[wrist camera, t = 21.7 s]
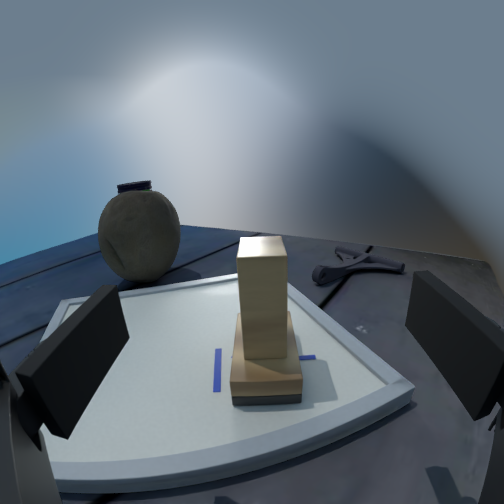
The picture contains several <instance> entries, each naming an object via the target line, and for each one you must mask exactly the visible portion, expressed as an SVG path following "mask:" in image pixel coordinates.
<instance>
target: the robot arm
mask: <svg viewBox="0 0 504 504" xmlns="http://www.w3.org/2000/svg"><path fill="white" fill-rule="evenodd" d="M405 326H406V327H407V329H408V330H409V331H410V332H411V334H412V335H413V336H414V338H415V339H416V340H417V341H418V343H419V344H420V345H421V347H422V348H423V349H424V351H425V352H426V353H427V355H428V356H429V357H430V359H431V360H432V361H433V363H434V364H435V366H436V367H437V368H438V370H439V371H440V372H441V374H442V375H443V377H444V378H445V379H446V381H447V382H448V384H449V385H450V386H451V388H452V389H453V391H454V392H455V394H456V395H457V396H458V398H459V399H460V401H461V402H462V404H463V405H464V407H465V408H466V410H467V411H468V413H469V414H470V416H471V417H472V419H473V420H474V421H476V420H478V419H481V418H483V417H485V416H487V415H489V414H490V413H491V411H492V409H493V407H494V406H495V404H496V402H498V403H499V405H500V406H501V408H500V410H499V411H498V413H497V415H496V416H495V418H494V420H493V421H492V423H491V425H490V426H489V429H488V430H489V431H491V429H492V428H493V426H494V425H495V424H496V427H495V430H494V432H495V434H494V440H493V446H492V451H491V456H490V461H489V465H488V470H487V474H486V478H485V482H484V485H483V489H482V492H481V496H480V499H479V502H478V504H504V329H503V328H502V329H501V327H500V326H499V325H498V324H497V323H496V322H495V321H493V320H492V319H490V318H488V317H486V316H484V315H483V314H482V313H481V312H479V311H478V310H477V309H476V308H475V307H473V306H472V305H471V304H470V303H469V302H467V301H466V300H465V299H464V298H462V297H461V296H460V295H459V294H458V293H456V292H455V291H454V290H452V289H451V288H450V287H449V286H447V285H446V284H445V283H444V282H442V281H441V280H440V279H438V278H437V277H436V276H434V275H433V274H432V273H430V272H429V271H428V270H426V271H414V274H413V281H412V288H411V295H410V301H409V306H408V312H407V317H406V322H405ZM129 338H130V336H129V333H128V329H127V325H126V322H125V318H124V314H123V310H122V306H121V302H120V297H119V293H118V289H117V285H102V286H101V287H100V288H99V289H98V290H97V291H96V292H95V293H93V294H92V295H91V296H90V297H89V298H88V299H87V300H86V301H85V302H84V303H83V304H82V305H81V306H80V307H78V308H77V309H76V310H75V311H74V312H73V313H72V314H71V315H70V316H69V317H68V318H67V319H66V320H65V321H64V322H63V323H62V324H61V325H60V326H59V327H58V328H57V329H56V330H55V331H54V332H53V333H52V334H51V335H50V336H49V337H48V338H46V339H45V340H43V341H41V342H40V343H39V344H38V345H37V346H36V347H35V348H34V349H33V351H31V352H30V353H29V354H28V357H25V358H24V359H23V361H22V362H21V363H20V364H19V365H18V366H17V367H16V368H15V369H14V370H13V371H12V372H11V373H10V374H9V376H8V375H7V373H6V371H5V369H4V367H3V365H2V363H1V361H0V504H63V503H62V500H61V497H60V494H59V491H58V488H57V485H56V482H55V479H54V475H53V472H52V468H51V464H50V460H49V456H48V452H47V448H46V444H45V439H44V435H43V433H42V432H41V430H40V428H41V426H42V425H43V423H44V424H45V426H46V427H47V429H48V430H49V432H50V433H51V434H52V435H55V436H58V437H61V438H64V439H67V440H68V439H69V437H70V435H71V434H72V432H73V430H74V428H75V427H76V425H77V423H78V421H79V420H80V418H81V416H82V414H83V413H84V411H85V409H86V408H87V406H88V404H89V403H90V401H91V399H92V398H93V396H94V394H95V393H96V391H97V389H98V388H99V386H100V384H101V383H102V381H103V379H104V378H105V376H106V375H107V373H108V371H109V370H110V368H111V367H112V365H113V363H114V362H115V360H116V359H117V357H118V356H119V354H120V352H121V351H122V349H123V348H124V346H125V345H126V343H127V342H128V340H129Z"/></svg>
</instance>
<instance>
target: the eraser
mask: <svg viewBox="0 0 504 504" xmlns="http://www.w3.org/2000/svg"><path fill="white" fill-rule="evenodd" d="M236 259H237V274H238V288H239V302H240V313H238V314H237V323H236V331H235V339H234V348H233V356H232V364H231V373H230V381H229V383H230V390H231V398H232V405H233V406H252V405H279V404H295V403H301V402H302V389H303V376H302V370H301V365H300V360H299V355H298V350H297V344H296V339H295V334H294V329H293V324H292V319H291V314H290V311H288V278H287V254H286V250H285V247H284V244H283V241H282V238H281V236H268V237H245V238H241V239H240V243H239V248H238V253H237V258H236Z"/></svg>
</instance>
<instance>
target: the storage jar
mask: <svg viewBox="0 0 504 504" xmlns="http://www.w3.org/2000/svg"><path fill="white" fill-rule="evenodd" d="M117 188H118V193H120V194H121V193H123V192H128V191H152V190H150V189H151V188H152V186H151V181H140V182H133V183H126V184H121V185H117ZM118 195H119V194H118Z"/></svg>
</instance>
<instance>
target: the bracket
mask: <svg viewBox="0 0 504 504" xmlns="http://www.w3.org/2000/svg"><path fill="white" fill-rule="evenodd" d="M335 253H336V254H338V255H339V256H340V257H342V259H343V263H342V264H339V265H334V266H323V265H318V266H316V268H315V269H314V271H313V274H312V279H313V281H314V282H316V283H319V284H325V283H328V282H330V281H333V280H335V279H337V278H340V277H342V276H344V275H346V274H349V273H351V272H353V271H356V270H358V269H387V270H393V271H397V272H400V273H402V272H403V271H404V268H405V264H404V263H402V262H398V261H394V260H390V259H387V258H383V257H379V256H375V255H372V254H368V253H364V252H360V251H357V250H353V249H349V248H345V247H341V246H337V247H336V249H335Z"/></svg>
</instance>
